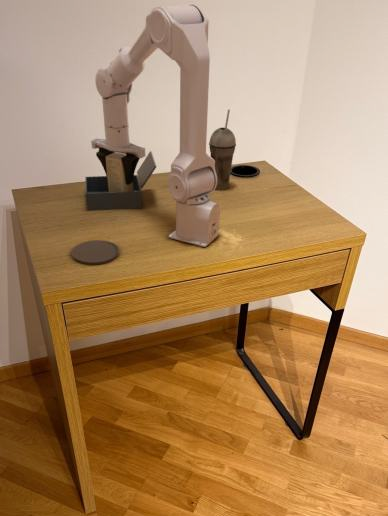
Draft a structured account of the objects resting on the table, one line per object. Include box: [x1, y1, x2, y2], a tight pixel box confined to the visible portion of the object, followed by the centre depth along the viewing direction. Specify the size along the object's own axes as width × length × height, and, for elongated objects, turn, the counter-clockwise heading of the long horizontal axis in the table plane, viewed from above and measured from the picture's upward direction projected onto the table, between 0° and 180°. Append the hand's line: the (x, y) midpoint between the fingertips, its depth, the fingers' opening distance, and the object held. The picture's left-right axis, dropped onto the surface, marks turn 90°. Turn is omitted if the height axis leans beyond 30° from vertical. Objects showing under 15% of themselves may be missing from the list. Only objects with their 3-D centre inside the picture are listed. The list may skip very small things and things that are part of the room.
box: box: [105, 152, 133, 192], centre depth 125 cm, size 5×4×11 cm
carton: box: [84, 174, 143, 211], centre depth 127 cm, size 14×12×4 cm
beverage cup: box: [208, 109, 237, 191], centre depth 132 cm, size 7×7×20 cm
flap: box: [136, 150, 157, 190], centre depth 125 cm, size 7×12×1 cm
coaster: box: [71, 239, 120, 266], centre depth 106 cm, size 10×10×1 cm
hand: (120, 181), depth 126 cm, fingers closed on box, 5 cm apart
